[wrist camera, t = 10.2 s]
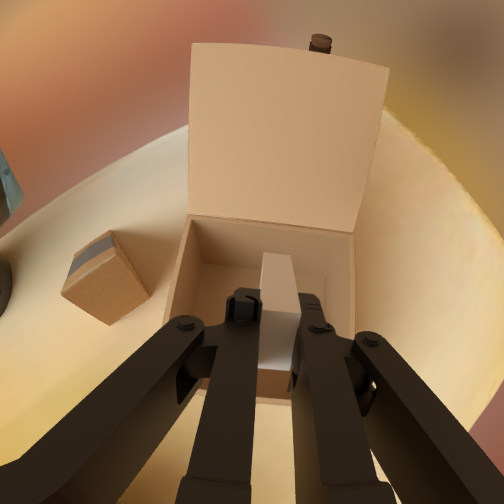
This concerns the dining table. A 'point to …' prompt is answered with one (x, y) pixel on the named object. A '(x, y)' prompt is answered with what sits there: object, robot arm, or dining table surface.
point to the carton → (249, 275)
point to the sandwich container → (104, 281)
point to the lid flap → (281, 133)
